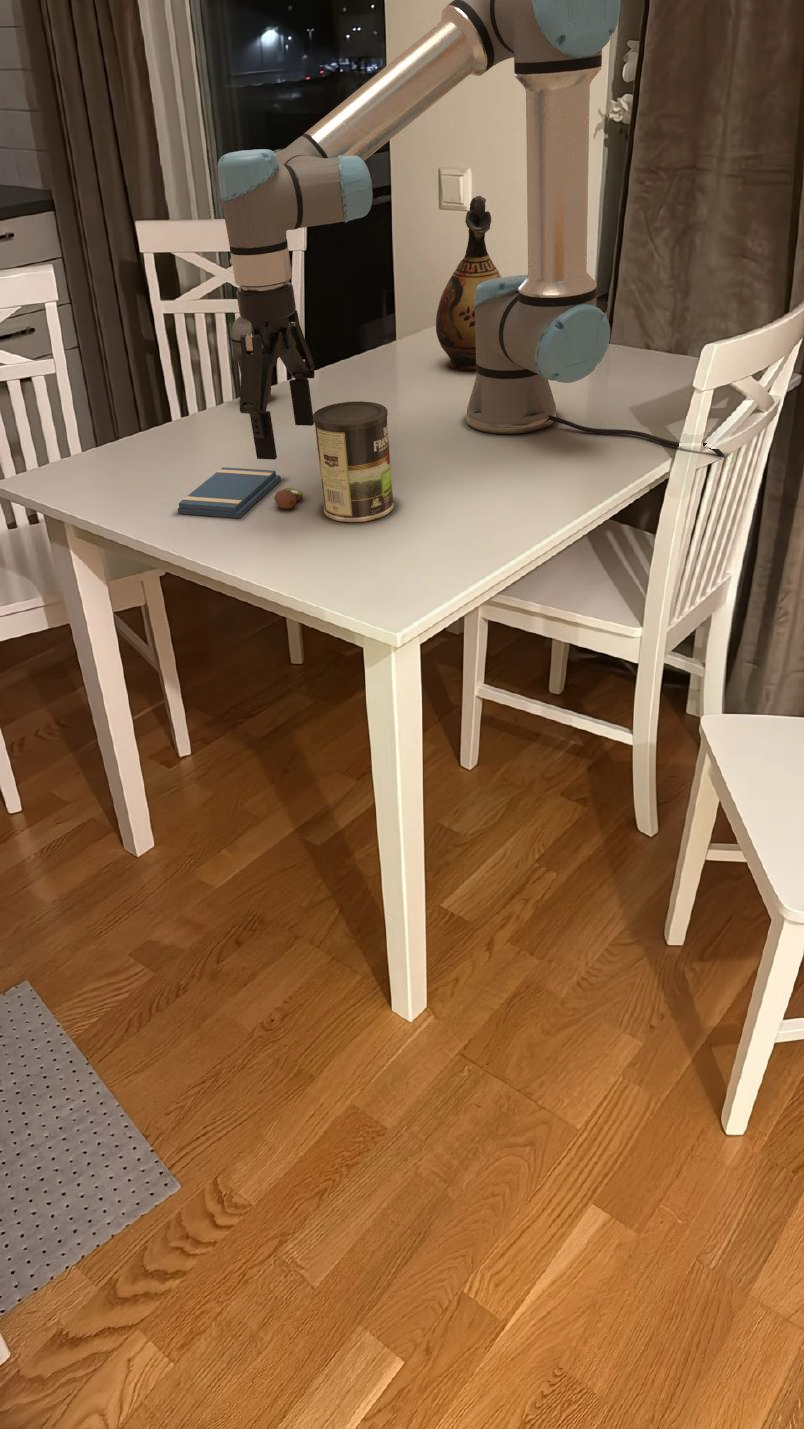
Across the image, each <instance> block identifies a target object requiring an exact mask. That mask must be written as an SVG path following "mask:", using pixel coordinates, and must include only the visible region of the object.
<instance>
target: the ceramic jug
mask: <svg viewBox="0 0 804 1429" xmlns="http://www.w3.org/2000/svg"><path fill="white" fill-rule="evenodd" d="M486 202H487V199H486V198H485V197H483V196H482V195H476V196H475V197H473V198H472V199H471V200H470V203H469V210H468V211H466V215H465V225H466V227H467V228H468V240H467V246H466V248H465V249H466V250H465V254H464V257H463V258H462V259H461V260H460V261H459V263H458V264H457V266H456V268H455V269H454V271H453V272H452V274H451V276H450V278H449V280H448V282H447V283H446V285H445V288H443V292H442V294H441V296H440V299H439V302H438V306H437V311H436V317H435V332H436V337H437V339H438V340H437V341H438V342H439V345H440V347H441V348H442V350H443V351H444V352H445V354H446V355H447V356H448V358H449V360H450V361H449V364H450V367H451V369H453V370H460V371H463V372H475V371H476V336H475V309H474V302H475V291H476V288H477V286H478V285H479V284H480V283H482V282H484V281H487V280H491V279H496V278H502V276H501V273H500V271H499V270H498V268H497V267H496V265H495V264H494V262H493V260H492V259H491V257H490V254H489V252H488V250H487V246H486V240H485V237H486V233H487V232H488V231H489V230H490V229H491V224H492V214H491V212H490V211H487V210H486Z"/></svg>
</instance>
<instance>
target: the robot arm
mask: <svg viewBox="0 0 804 1429" xmlns="http://www.w3.org/2000/svg"><path fill="white" fill-rule="evenodd" d="M620 14H621V0H452V1H451V2H449V3H448V5H446V6H445V7H444V8H443V9H442V10H441V15H440V22H439V23H437V24H436V25H435V26H434V27H432V28H431V29H430V30H429V31H427V32H426V33H424V35H423V36H422V37H420V38H419V39H418V40H417V41H415V42H414V43H413V44H411V45H410V46H409V47H407V49H406V50H404V51H402V53H401V54H400V55H398V56H396V57H395V58H394V59H393V60H392V61H390V63H388V64H387V65H386V66H385V67H383V68H382V69H381V70H380V71H378V72H377V73H376V74H375V75H373V76H372V77H371V78H369V80H368V81H367V82H364V84H363V85H361V86H360V87H359V88H357V90H356V91H354V92H353V93H352V94H350V95H349V96H348V97H347V98H346V99H344V100H343V101H342V102H341V103H340V104H338V105H337V106H336V107H334V108H333V109H332V110H331V111H330V112H329V113H328V114H326V115H325V116H324V117H323V118H321V119H320V120H319V121H317V122H316V123H315V124H314V125H313V126H311V127H310V128H309V129H308V130H307V131H305V132H304V133H303V134H302V135H301V136H299V137H298V138H296V139H295V140H294V141H293V142H291V143H290V144H288V146H286V147H285V148H282V149H281V148H279V149H275V150H272V149H267V148H266V149H265V148H264V149H262V148H261V149H259V148H258V149H247V150H238V151H233V152H228V153H226V154H224V155H222V156H221V157H220V158H219V160H218V163H217V173H218V174H217V175H218V176H217V177H218V185H219V199H220V201H221V206H222V211H223V216H224V222H225V228H226V234H227V238H228V245H229V252H230V259H229V264H230V265H231V266H232V271H233V278H234V284H235V285H237V287H238V288H237V290H236V292H235V293H236V299H237V300H236V301H237V305H238V311H239V317H240V316H241V317H242V318H243V319H245V320H248V321H249V322H250V323H251V335H241V337H240V342H241V351H242V361H241V373H240V389H239V413H240V414H244V415H245V414H247V415H249V418H250V423H251V431H252V436H253V443H254V449H255V456H256V459H257V460H273V461H275V460H276V459H277V458H278V455H277V454H278V453H277V448H276V441H275V434H274V428H273V427H274V426H273V421H272V414H271V410H267V408H268V404H269V403H268V402H269V401H268V396H269V390H270V383H271V384H272V377H273V369H274V367H275V366H277V364H278V360H279V359H280V360H281V362H282V363H283V365H284V367H285V368H286V370H287V372H288V373H289V375H290V376H291V378H292V379H290V380H289V390H290V395H291V404H292V411H293V418H294V424H295V425H294V426H305V427H306V426H308V427H312V426H315V423H314V421H313V414H314V412H313V411H314V410H313V404H312V396H311V390H310V389H311V388H310V382H309V381H310V380H309V379H315V377H316V376H315V375H316V372H315V370H314V369H315V363H314V360H313V357H312V355H311V352H310V350H309V346H308V343H307V341H306V338H305V335H304V333H303V329H302V327H301V325H300V324H301V322H300V319H299V313H298V310H297V308H296V307H297V306H296V298H295V292H294V285H293V284H292V283H291V282H290V280H291V279H292V277H293V273H292V272H293V271H292V266H291V259H290V251H289V244H288V239H287V231H294V230H298V229H303V228H310V227H316V226H323V225H330V224H336V223H337V224H338V223H345V224H347V223H348V222H349V221H353V220H357V219H361V218H365V217H366V216H367V215H368V214H369V212H370V211H371V208H372V205H373V196H374V194H373V182H372V178H371V174H370V171H369V168H368V166H367V164H366V162H365V161H366V160H367V159H368V158H370V157H371V156H372V155H373V154H374V153H376V152H377V151H378V150H379V149H380V148H382V147H383V146H384V145H385V144H387V143H388V142H389V141H390V140H392V139H393V138H394V137H395V136H397V135H398V134H399V133H400V132H401V131H403V130H404V129H405V128H406V127H408V126H409V125H410V124H411V123H413V122H414V121H415V120H416V119H418V118H419V117H420V116H421V115H423V114H424V113H425V112H426V111H427V110H429V109H430V108H431V107H432V106H434V105H435V104H436V103H437V102H438V101H440V100H441V99H442V98H443V97H444V96H446V95H447V94H448V93H450V92H451V91H452V90H453V89H455V87H456V88H457V86H458V85H459V84H461V83H462V82H463V81H464V80H465V79H467V78H468V77H470V76H474V77H481V76H482V75H484V74H485V73H486V72H488V71H489V70H490V69H492V68H493V67H494V66H496V65H498V64H499V63H501V62H504V61H507V60H509V59H512V58H513V73H514V78H515V79H516V80H518V81H519V84H520V85H522V86H523V88H524V90H525V111H526V112H525V115H526V116H525V123H526V125H525V126H526V131H525V132H526V191H527V192H526V209H527V213H526V215H527V274H520V275H518V274H517V275H509V276H501V278H496V279H491V280H487V281H484V282H482V283H480V284H479V285H478V286H477V288H476V291H475V302H474V309H475V336H476V372H475V374H476V375H475V380H474V382H473V386H472V390H471V393H470V396H469V400H468V404H467V408H466V423H467V425H469V427H471V428H472V429H474V430H478V431H480V432H483V433H484V432H485V433H489V434H498V435H499V434H500V435H513V434H516V435H517V434H524V433H530V432H531V433H532V432H536V431H539V430H543V429H545V428H547V427H550V426H551V425H553V423H559V424H562V425H565V426H567V427H570V428H573V429H576V430H578V431H582V432H585V433H592V434H604V435H605V434H607V435H628V436H634V437H641V438H644V439H648V440H651V441H653V442H657V443H660V444H662V445H663V444H664V445H667V446H670V447H676V448H680V447H679V443H680V442H677V441H674V440H669V439H665V438H662V437H659V436H656V435H653V434H649V433H646V432H644V431H643V432H642V431H637V430H631V429H621V428H619V429H618V428H597V427H596V428H594V427H588V426H583V425H580V424H577V423H575V422H572V421H570V420H566V419H563V418H561V417H557V405H556V401H555V398H554V395H553V390H552V389H551V388H552V387H551V385H550V382H549V381H555V382H558V383H562V384H563V383H564V384H569V383H575V382H578V381H581V380H583V379H585V378H587V377H588V376H589V375H590V374H592V373H593V372H594V371H595V369H596V367H597V366H598V365H599V364H601V362H602V361H603V359H604V357H605V356H606V353H607V351H608V348H609V345H610V340H611V326H610V323H609V319H608V317H607V316H606V315H605V313H604V312H603V310H602V309H601V308H599V307H597V282H596V280H595V279H594V278H593V277H592V276H591V275H590V274H589V273H588V270H587V267H588V266H587V265H588V216H589V214H588V210H589V209H588V207H589V206H588V205H589V153H590V151H589V150H590V148H589V147H590V99H591V98H590V97H591V96H590V95H591V93H590V92H591V84H592V81H593V80H594V79H595V78H596V76H597V75H598V74H599V73H600V71H601V70H602V68H603V67H602V65H603V49H604V48H605V47H606V46H607V45H608V43H609V42H610V40H611V36H612V35H613V34H615V32H616V29H617V27H618V25H619V24H618V23H619V19H620ZM702 442H703V446H705V445H706V444H707V443H708V442H706V441H705V442H704V441H702ZM704 448H706V447H704ZM706 449H707V448H706ZM708 449H709V450H711V451H713V452H714V453H715V454H716V455H717V457H720V458H725V457H726V456H725V454H724V453H723V452H722V451H721V450H720V449H719V448H718V449H711V448H708Z"/></svg>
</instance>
